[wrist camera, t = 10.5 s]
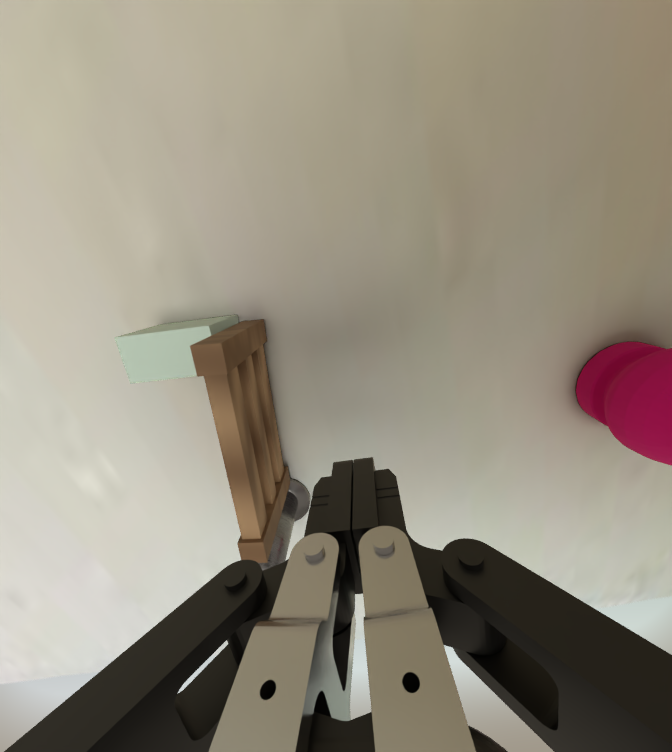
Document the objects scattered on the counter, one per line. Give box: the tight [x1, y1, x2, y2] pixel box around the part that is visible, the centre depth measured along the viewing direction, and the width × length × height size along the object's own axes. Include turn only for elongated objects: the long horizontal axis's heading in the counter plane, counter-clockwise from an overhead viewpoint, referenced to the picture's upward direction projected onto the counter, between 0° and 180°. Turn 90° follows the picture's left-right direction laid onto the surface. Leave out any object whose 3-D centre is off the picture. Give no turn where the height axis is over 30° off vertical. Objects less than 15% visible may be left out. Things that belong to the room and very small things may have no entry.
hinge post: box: [258, 478, 310, 571], centre depth 25 cm, size 4×4×8 cm
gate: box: [190, 319, 290, 563], centre depth 22 cm, size 14×2×8 cm, turn 5°
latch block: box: [115, 315, 239, 384], centre depth 22 cm, size 6×3×5 cm, turn 97°
